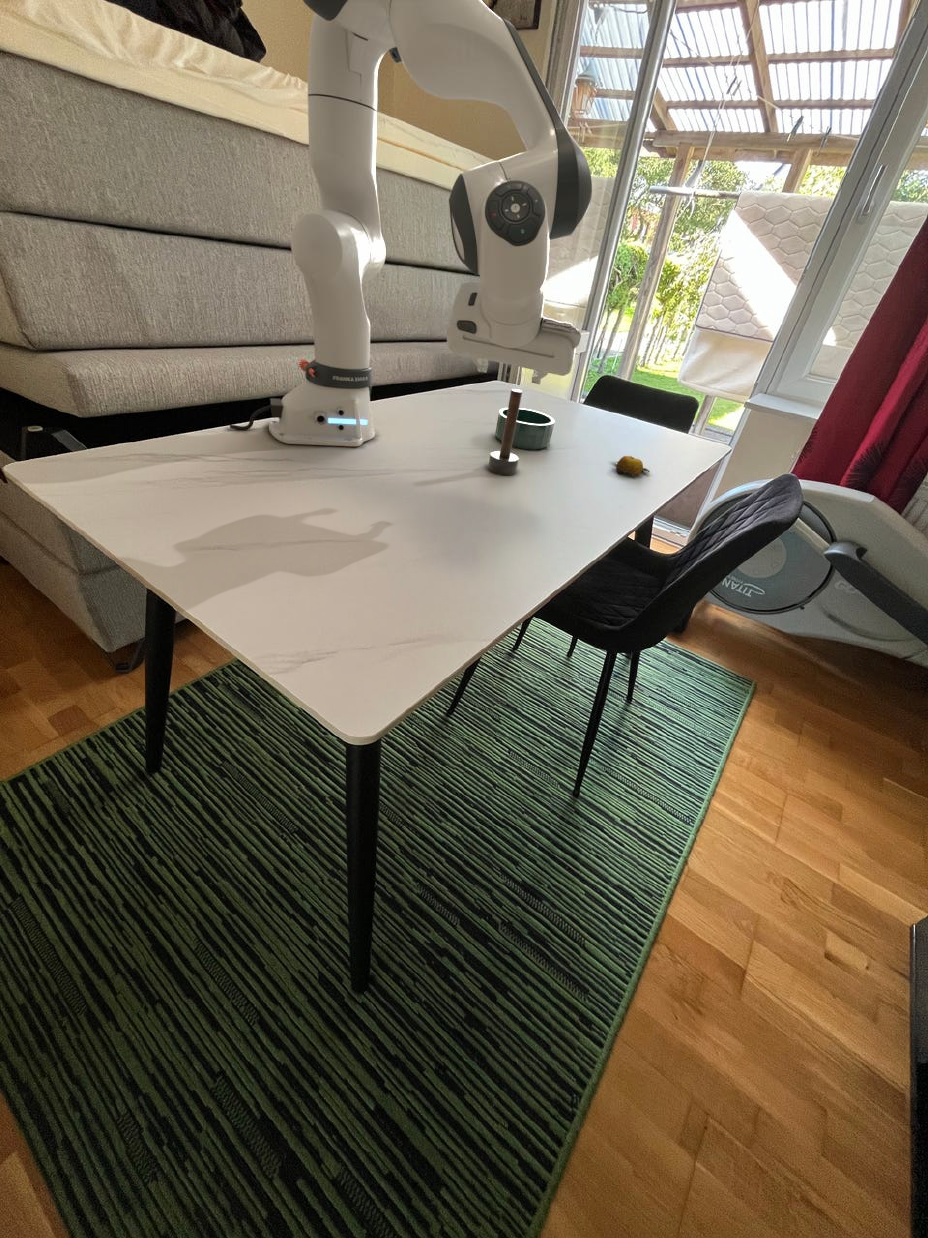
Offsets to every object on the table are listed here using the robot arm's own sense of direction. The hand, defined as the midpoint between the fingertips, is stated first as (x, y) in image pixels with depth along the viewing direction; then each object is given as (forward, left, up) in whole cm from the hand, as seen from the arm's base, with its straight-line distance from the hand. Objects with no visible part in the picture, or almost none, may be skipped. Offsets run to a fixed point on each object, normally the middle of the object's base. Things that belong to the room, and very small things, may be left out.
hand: (509, 374), depth 88 cm
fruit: (+41, +4, -21) cm, 46 cm away
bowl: (+24, +26, -21) cm, 41 cm away
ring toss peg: (+8, +9, -21) cm, 24 cm away
